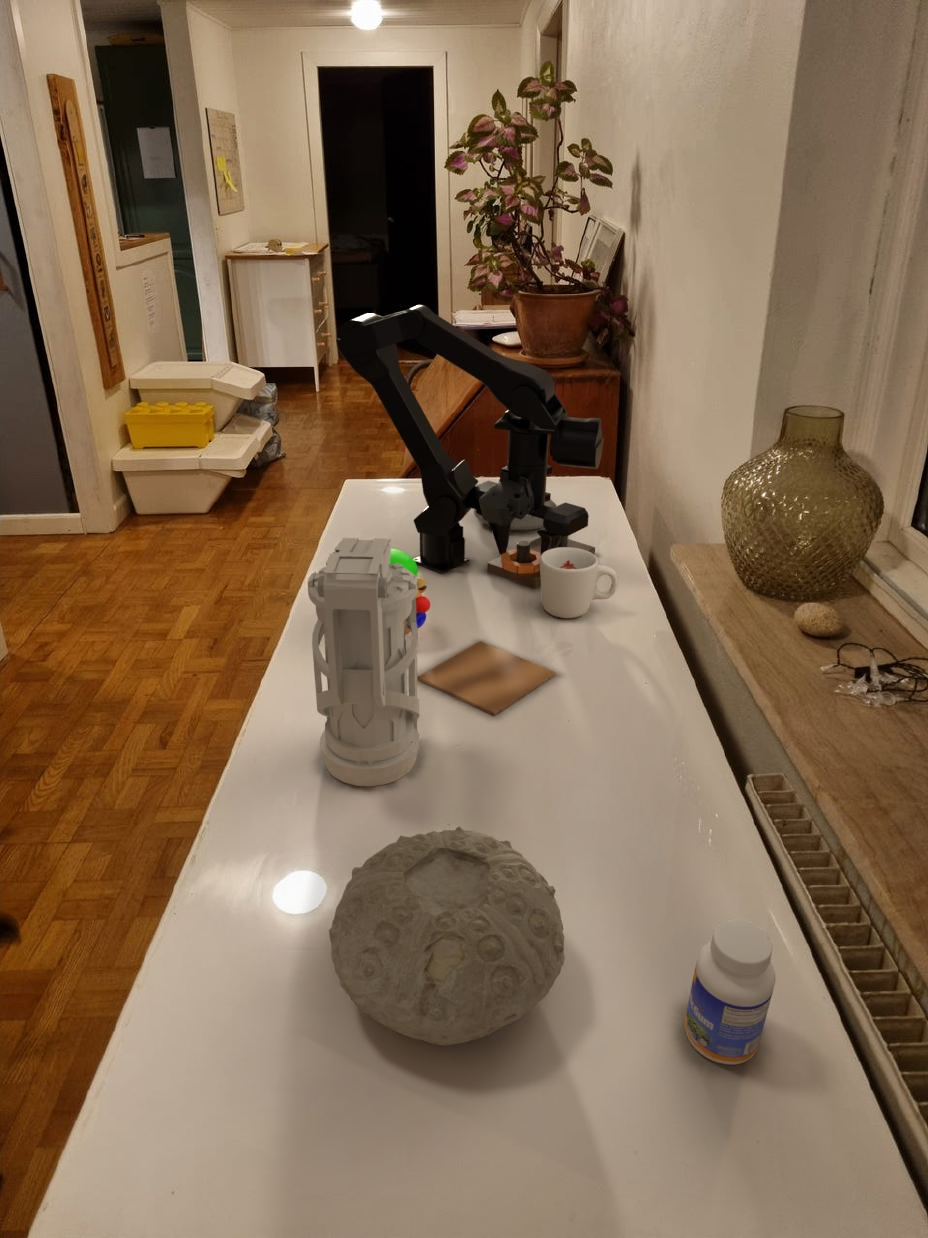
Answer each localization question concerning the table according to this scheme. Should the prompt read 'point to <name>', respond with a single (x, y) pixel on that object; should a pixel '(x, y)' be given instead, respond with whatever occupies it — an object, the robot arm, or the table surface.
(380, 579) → the lantern
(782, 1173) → the table surface
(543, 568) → the cup
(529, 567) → the ring
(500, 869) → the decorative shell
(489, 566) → the peg board
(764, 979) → the pill bottle
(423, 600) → the figurine
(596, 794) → the table surface
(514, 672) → the cork mat
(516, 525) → the flying saucer
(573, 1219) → the table surface
